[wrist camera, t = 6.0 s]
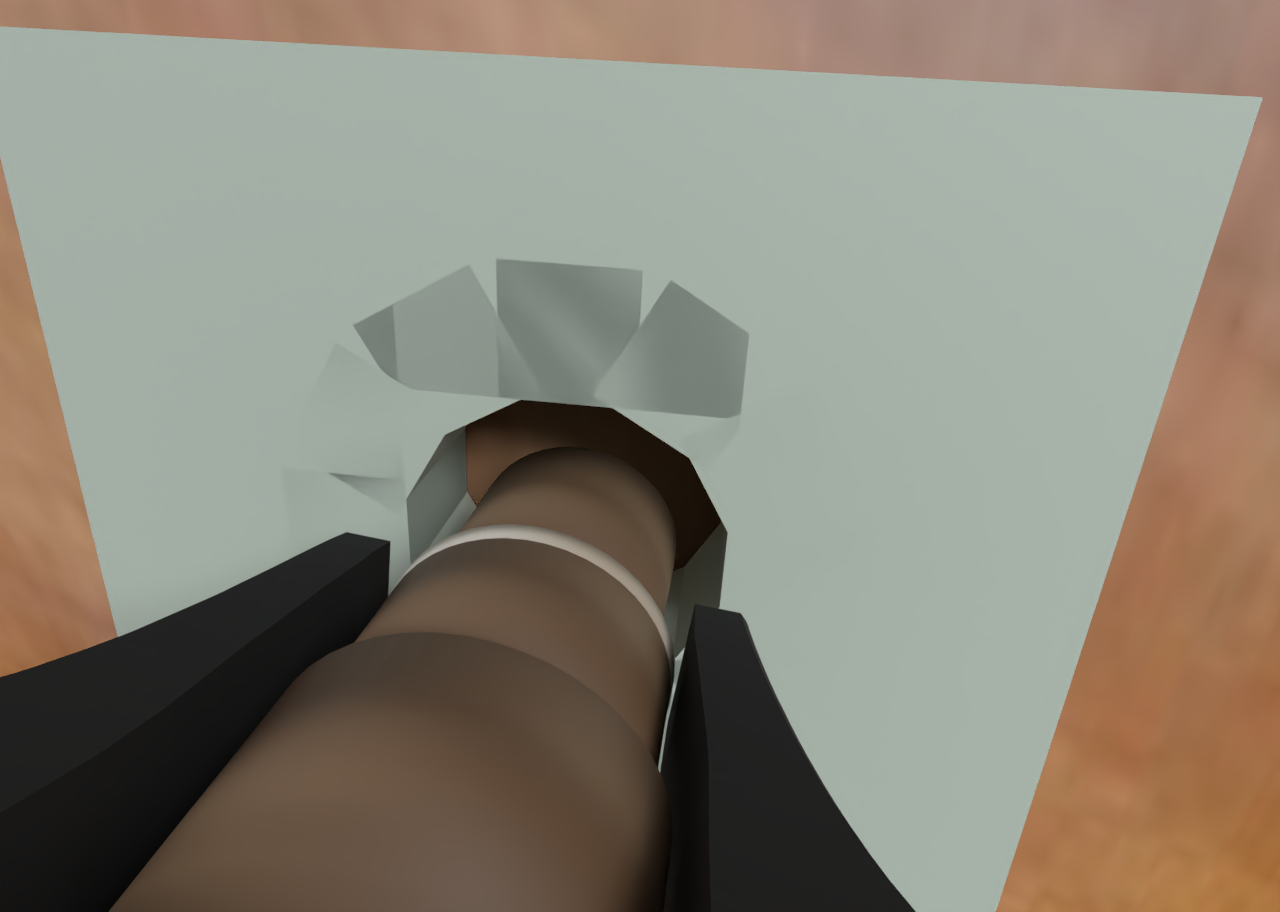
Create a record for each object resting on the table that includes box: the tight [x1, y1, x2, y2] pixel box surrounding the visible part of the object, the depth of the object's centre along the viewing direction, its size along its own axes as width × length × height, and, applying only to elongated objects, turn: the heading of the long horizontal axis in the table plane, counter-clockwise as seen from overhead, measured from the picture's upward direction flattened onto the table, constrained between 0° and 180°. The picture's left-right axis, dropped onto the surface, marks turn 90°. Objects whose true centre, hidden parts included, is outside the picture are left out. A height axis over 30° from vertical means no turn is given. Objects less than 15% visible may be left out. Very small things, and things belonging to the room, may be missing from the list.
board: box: [0, 27, 1263, 912], centre depth 14 cm, size 16×14×3 cm
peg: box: [109, 447, 677, 912], centre depth 10 cm, size 4×4×8 cm
